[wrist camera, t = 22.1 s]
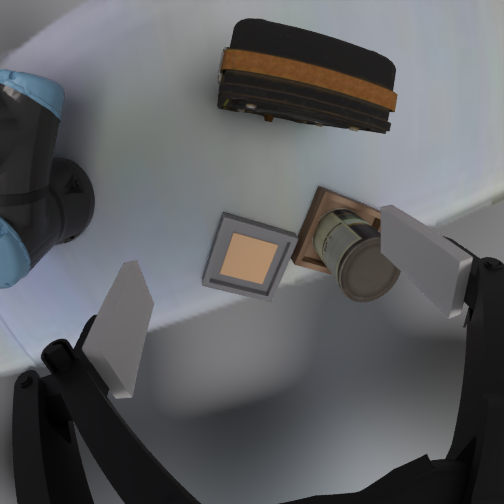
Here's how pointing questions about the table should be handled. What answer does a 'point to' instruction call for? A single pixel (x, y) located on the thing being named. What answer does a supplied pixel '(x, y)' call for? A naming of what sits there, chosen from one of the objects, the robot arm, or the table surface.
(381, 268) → the coffee can
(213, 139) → the table surface
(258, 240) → the checker cradle
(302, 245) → the walnut tray
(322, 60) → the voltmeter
